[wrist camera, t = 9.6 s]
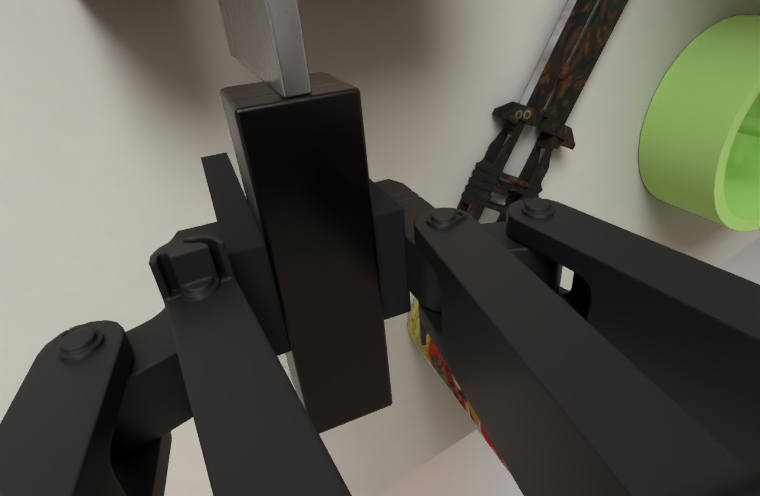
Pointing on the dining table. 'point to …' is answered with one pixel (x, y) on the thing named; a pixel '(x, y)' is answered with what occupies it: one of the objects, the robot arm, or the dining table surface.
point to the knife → (535, 101)
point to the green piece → (709, 127)
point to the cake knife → (310, 210)
